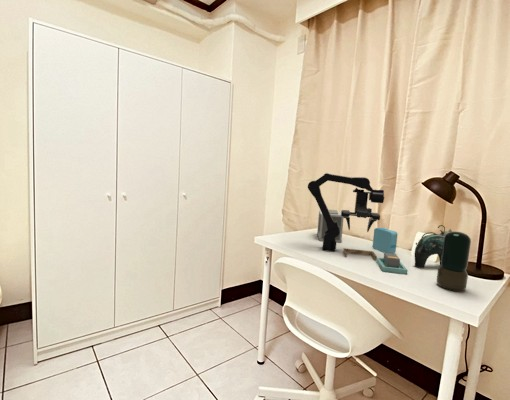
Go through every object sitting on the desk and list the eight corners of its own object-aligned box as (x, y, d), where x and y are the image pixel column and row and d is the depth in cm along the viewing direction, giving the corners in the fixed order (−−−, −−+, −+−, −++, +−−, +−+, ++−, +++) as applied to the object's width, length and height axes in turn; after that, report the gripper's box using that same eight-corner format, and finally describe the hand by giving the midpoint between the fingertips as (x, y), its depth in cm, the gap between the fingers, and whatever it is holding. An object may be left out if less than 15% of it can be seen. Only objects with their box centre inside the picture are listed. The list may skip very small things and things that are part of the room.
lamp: (455, 294, 104) (463, 235, 101) (430, 283, 112) (437, 229, 110) (471, 290, 108) (479, 234, 105) (446, 281, 116) (453, 228, 114)
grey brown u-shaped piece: (344, 256, 142) (344, 253, 142) (343, 251, 150) (343, 248, 150) (376, 260, 139) (376, 256, 138) (373, 255, 147) (373, 251, 147)
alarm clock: (316, 234, 188) (319, 207, 186) (337, 236, 187) (339, 208, 185) (319, 241, 170) (321, 211, 168) (341, 243, 169) (344, 212, 166)
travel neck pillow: (445, 264, 139) (450, 224, 137) (457, 268, 133) (463, 227, 130) (410, 265, 135) (415, 223, 132) (421, 270, 128) (426, 226, 126)
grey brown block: (386, 268, 126) (387, 257, 125) (383, 262, 134) (384, 251, 134) (398, 270, 124) (400, 258, 124) (394, 264, 133) (395, 253, 132)
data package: (395, 253, 152) (398, 232, 151) (389, 254, 151) (392, 232, 149) (377, 247, 163) (380, 227, 162) (372, 248, 161) (374, 227, 160)
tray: (382, 271, 124) (382, 267, 123) (375, 261, 137) (376, 257, 137) (407, 274, 122) (407, 270, 121) (398, 263, 135) (398, 259, 135)
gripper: (343, 201, 141) (340, 232, 143) (383, 205, 137) (380, 236, 139) (342, 199, 152) (339, 227, 154) (379, 202, 148) (376, 231, 149)
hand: (358, 230), depth 149 cm, fingers open, 9 cm apart
